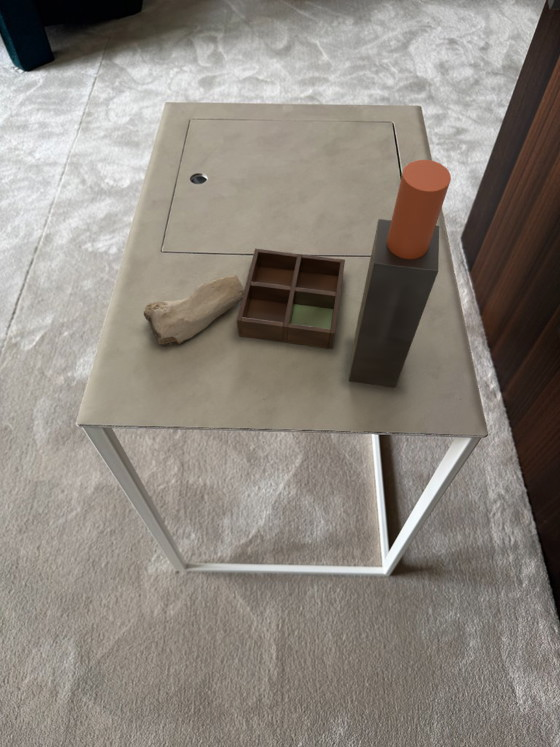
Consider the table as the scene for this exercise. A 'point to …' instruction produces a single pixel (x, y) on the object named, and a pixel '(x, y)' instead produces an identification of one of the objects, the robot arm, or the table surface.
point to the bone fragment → (193, 310)
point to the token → (417, 208)
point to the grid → (291, 298)
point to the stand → (391, 309)
